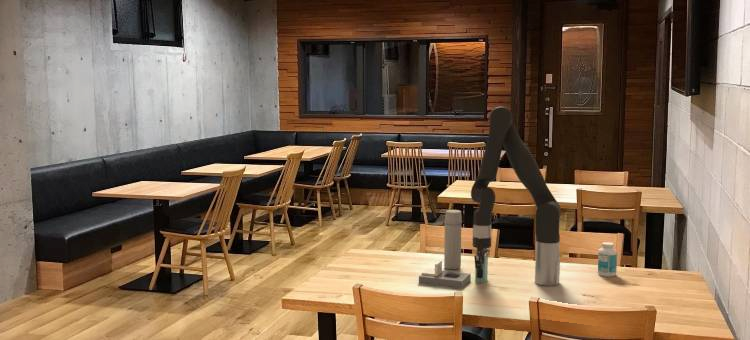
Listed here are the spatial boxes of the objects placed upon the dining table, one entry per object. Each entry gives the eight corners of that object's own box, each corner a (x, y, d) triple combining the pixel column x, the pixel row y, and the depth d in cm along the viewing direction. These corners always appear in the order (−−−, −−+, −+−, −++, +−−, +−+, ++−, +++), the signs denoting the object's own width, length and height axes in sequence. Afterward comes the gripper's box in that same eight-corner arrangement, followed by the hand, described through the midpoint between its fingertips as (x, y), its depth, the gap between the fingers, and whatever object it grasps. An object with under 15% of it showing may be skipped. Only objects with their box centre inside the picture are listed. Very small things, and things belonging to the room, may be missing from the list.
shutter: (442, 272, 304) (442, 260, 303) (436, 276, 298) (436, 264, 297) (427, 270, 307) (427, 259, 306) (421, 274, 300) (421, 263, 300)
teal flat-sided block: (487, 279, 304) (487, 256, 302) (484, 282, 300) (485, 258, 299) (477, 278, 305) (478, 255, 304) (475, 281, 302) (475, 257, 300)
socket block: (470, 280, 302) (470, 273, 302) (461, 288, 291) (462, 281, 291) (428, 276, 309) (428, 269, 309) (418, 283, 299) (418, 276, 298)
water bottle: (462, 270, 318) (463, 212, 315) (444, 270, 318) (444, 212, 315) (460, 264, 327) (461, 208, 324) (442, 264, 328) (443, 208, 324)
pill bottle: (614, 272, 314) (615, 241, 313) (618, 277, 307) (619, 245, 305) (595, 272, 315) (597, 241, 313) (599, 277, 308) (600, 245, 306)
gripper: (477, 231, 308) (477, 271, 310) (468, 238, 295) (467, 280, 297) (495, 232, 305) (494, 273, 307) (486, 239, 292) (485, 282, 295)
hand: (481, 276), depth 302 cm, fingers closed on teal flat-sided block, 4 cm apart
